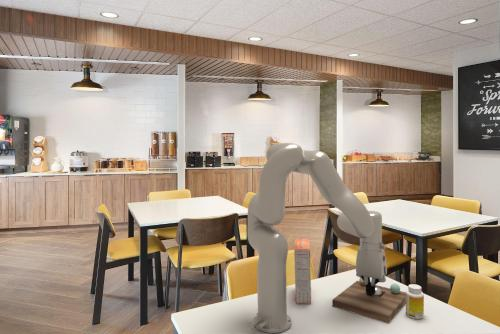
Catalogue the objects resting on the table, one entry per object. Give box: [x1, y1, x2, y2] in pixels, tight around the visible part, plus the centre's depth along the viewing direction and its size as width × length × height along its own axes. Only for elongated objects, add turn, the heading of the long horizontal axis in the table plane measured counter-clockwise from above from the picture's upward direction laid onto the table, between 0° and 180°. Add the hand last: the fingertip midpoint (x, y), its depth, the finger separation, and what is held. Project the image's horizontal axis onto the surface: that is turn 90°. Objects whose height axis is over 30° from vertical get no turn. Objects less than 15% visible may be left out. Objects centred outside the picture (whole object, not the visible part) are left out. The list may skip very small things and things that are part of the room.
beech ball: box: [358, 277, 366, 286], centre depth 141 cm, size 4×4×4 cm
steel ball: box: [373, 287, 382, 297], centre depth 134 cm, size 4×4×4 cm
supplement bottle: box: [405, 283, 425, 320], centre depth 120 cm, size 6×6×10 cm
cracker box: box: [293, 238, 312, 305], centre depth 137 cm, size 14×6×21 cm, turn 172°
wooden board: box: [331, 280, 406, 324], centre depth 131 cm, size 22×20×2 cm
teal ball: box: [389, 283, 401, 293], centre depth 133 cm, size 4×4×4 cm
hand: (370, 294), depth 130 cm, fingers closed
